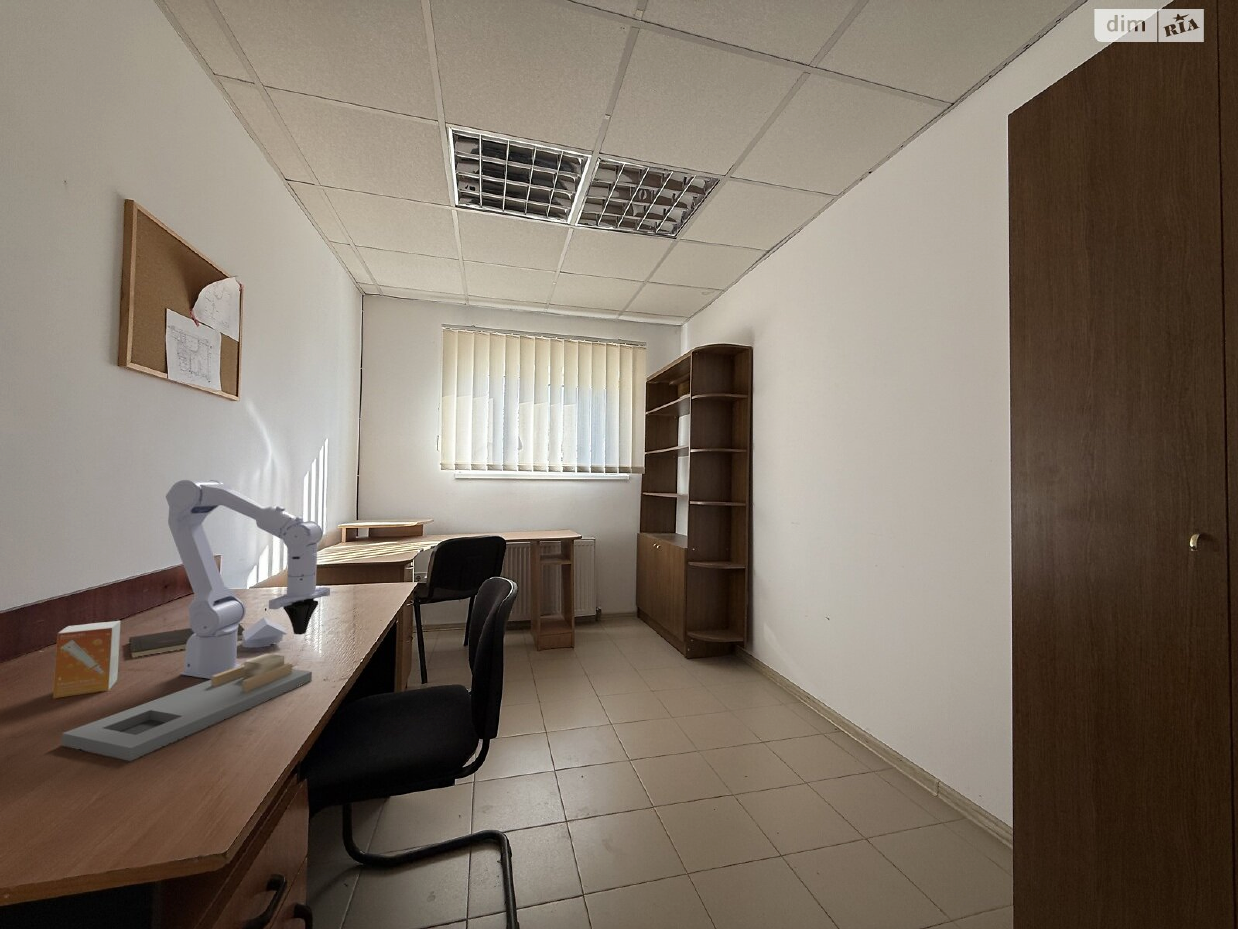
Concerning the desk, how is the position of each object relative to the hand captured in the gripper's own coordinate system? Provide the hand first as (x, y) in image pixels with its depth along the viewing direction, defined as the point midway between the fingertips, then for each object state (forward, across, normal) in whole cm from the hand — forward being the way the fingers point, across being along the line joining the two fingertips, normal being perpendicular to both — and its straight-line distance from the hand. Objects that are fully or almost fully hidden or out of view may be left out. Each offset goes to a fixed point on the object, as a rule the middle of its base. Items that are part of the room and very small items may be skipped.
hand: (299, 633), depth 116 cm
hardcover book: (+9, +8, +46) cm, 48 cm away
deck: (+8, -20, 0) cm, 22 cm away
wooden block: (+6, -8, 0) cm, 11 cm away
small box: (+9, -21, +32) cm, 39 cm away
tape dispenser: (+9, +12, +25) cm, 29 cm away
